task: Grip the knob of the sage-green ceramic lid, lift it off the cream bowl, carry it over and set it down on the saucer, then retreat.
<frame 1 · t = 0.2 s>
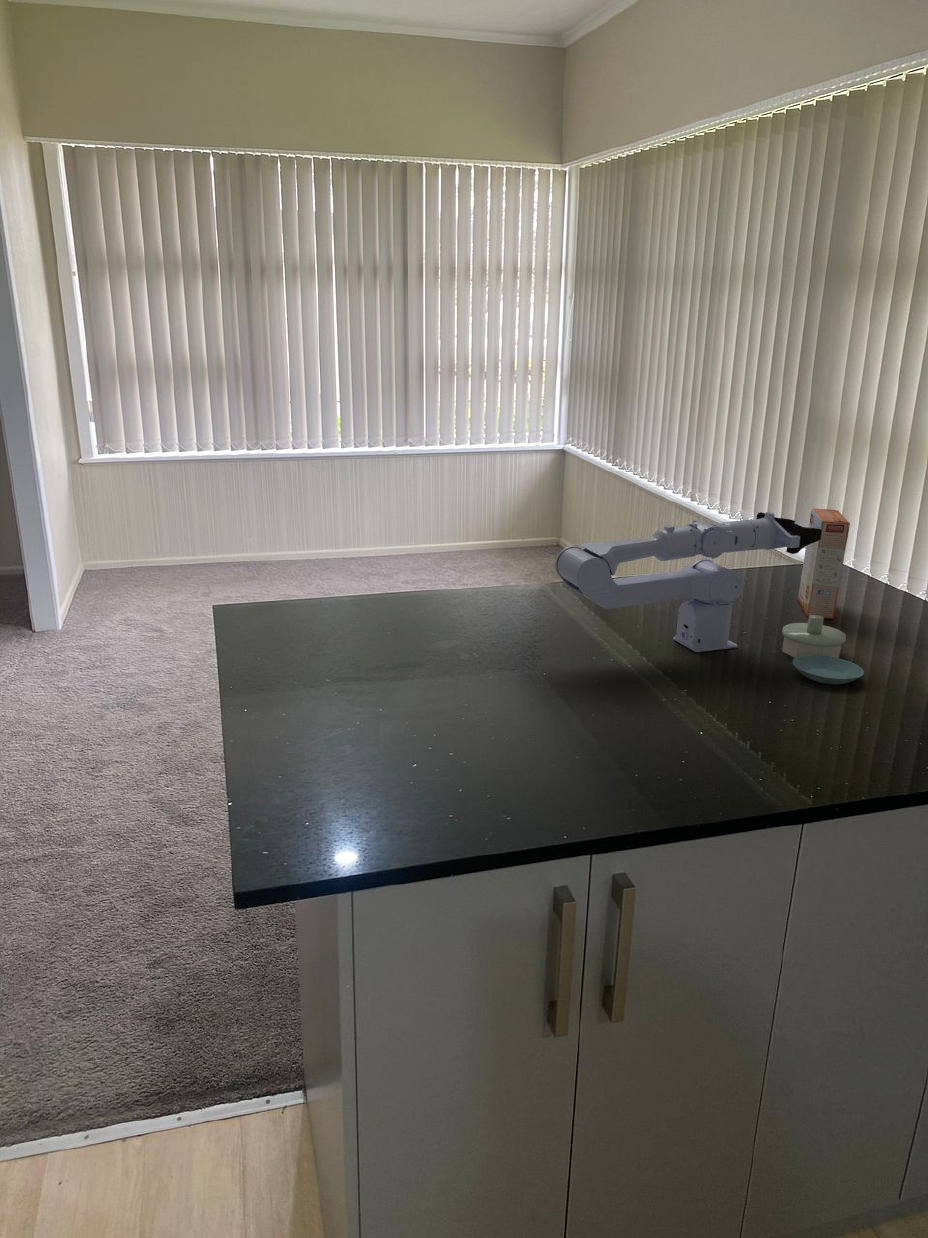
hand: (806, 529, 180), 21 cm above the worktop, tool horizontal, fingers open, 7 cm apart
cracker box: (815, 610, 204), on the worktop
bowl: (811, 652, 177), on the worktop
saucer: (825, 679, 166), on the worktop
lid: (813, 636, 176), point 3 cm above the worktop, touching bowl
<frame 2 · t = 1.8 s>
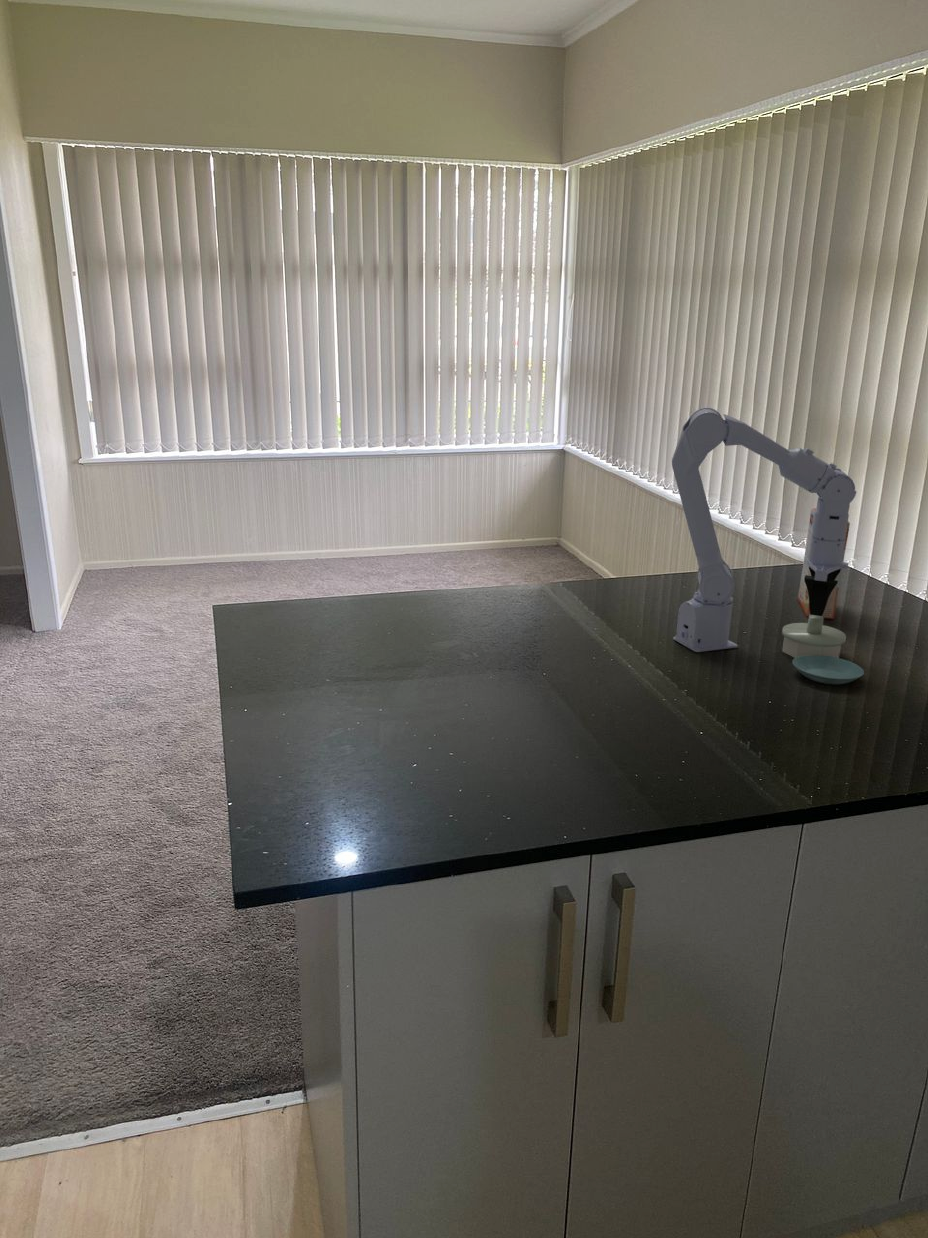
hand: (817, 609, 175), 9 cm above the worktop, tool pointing down, fingers open, 7 cm apart
nothing on the worktop moved.
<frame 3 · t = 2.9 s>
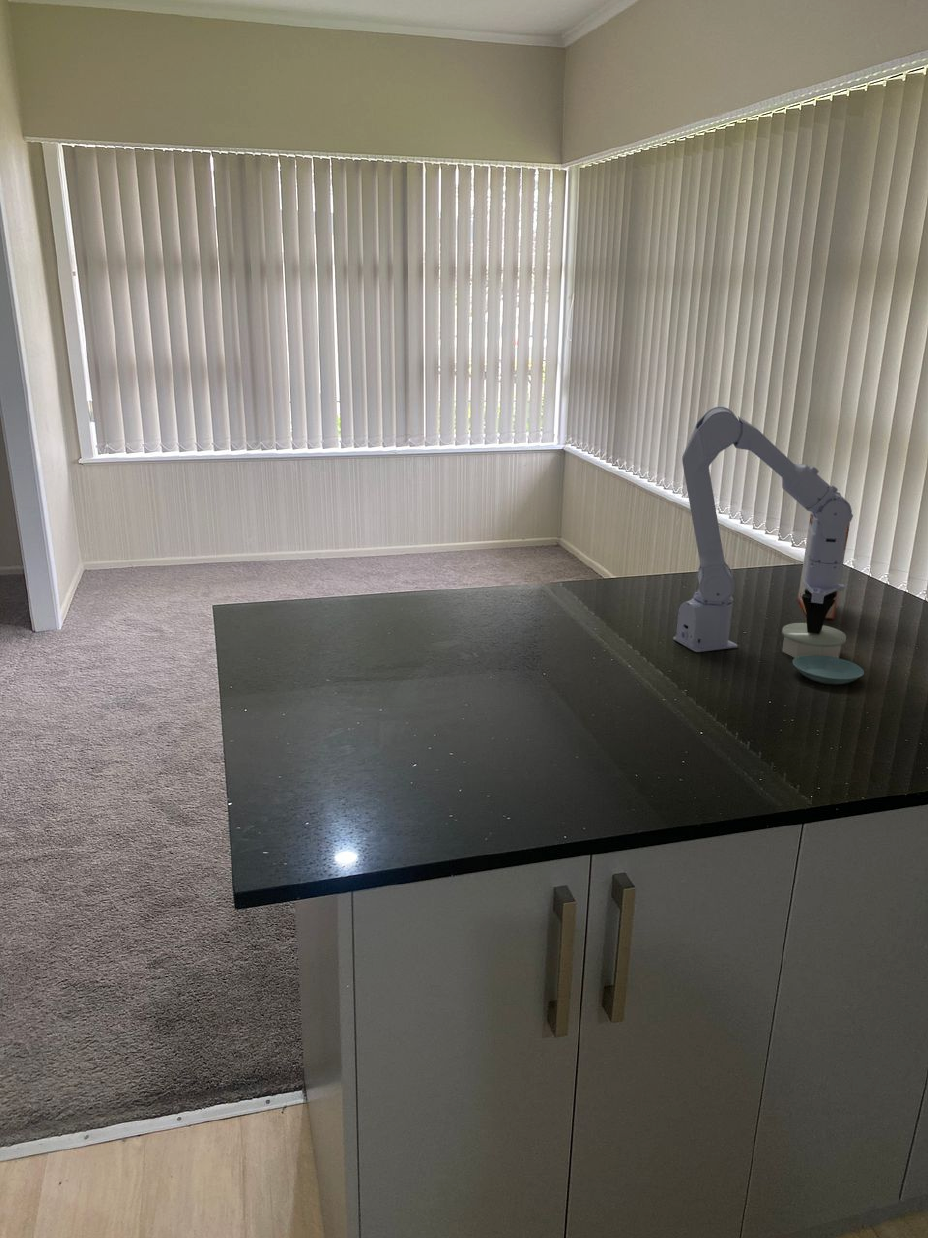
hand: (814, 630, 176), 4 cm above the worktop, tool pointing down, fingers closed on lid, 3 cm apart
lid: (813, 636, 176), point 3 cm above the worktop, touching bowl, gripper
everything else where it was.
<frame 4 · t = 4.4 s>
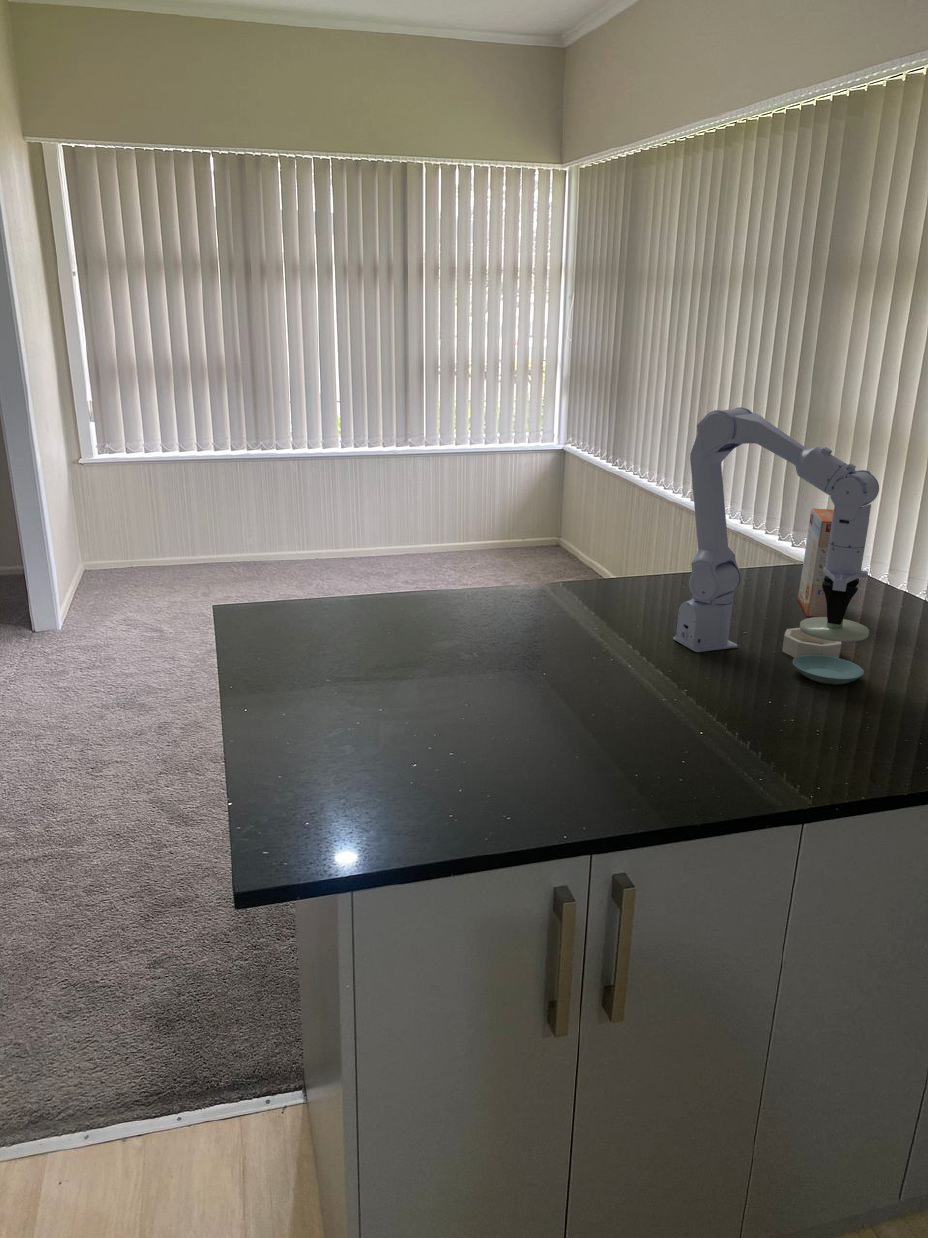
hand: (834, 620, 163), 10 cm above the worktop, tool pointing down, fingers closed on lid, 3 cm apart
lid: (833, 631, 163), point 8 cm above the worktop, touching gripper
everything else where it was.
when the fingers open (4 cm above the worktop, at t = 5.8 s): lid stays where it is, resting on saucer.
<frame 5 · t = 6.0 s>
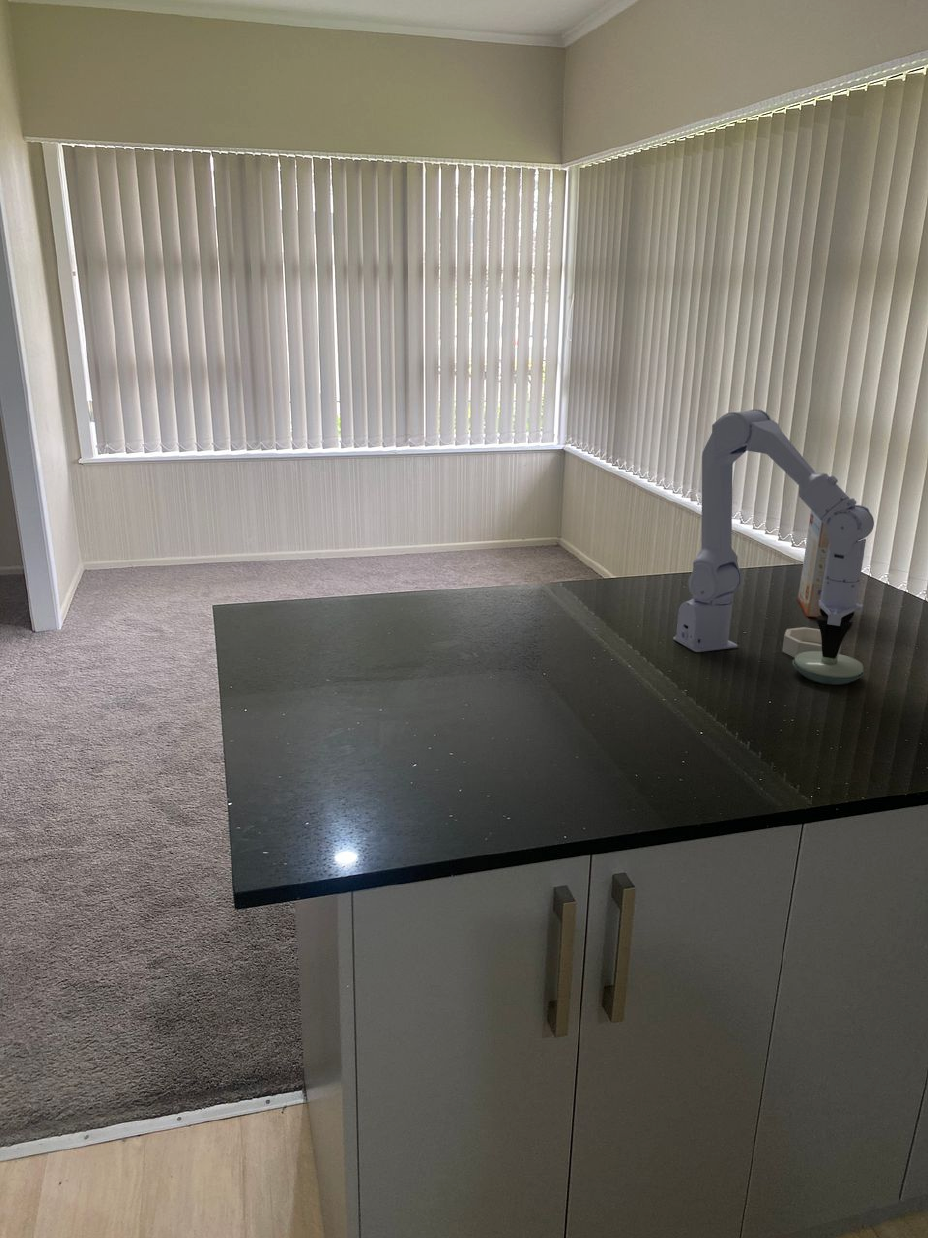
hand: (829, 653, 164), 4 cm above the worktop, tool pointing down, fingers open, 4 cm apart
saucer: (825, 679, 166), on the worktop, touching lid
lid: (828, 666, 165), point 2 cm above the worktop, touching saucer
everything else where it was.
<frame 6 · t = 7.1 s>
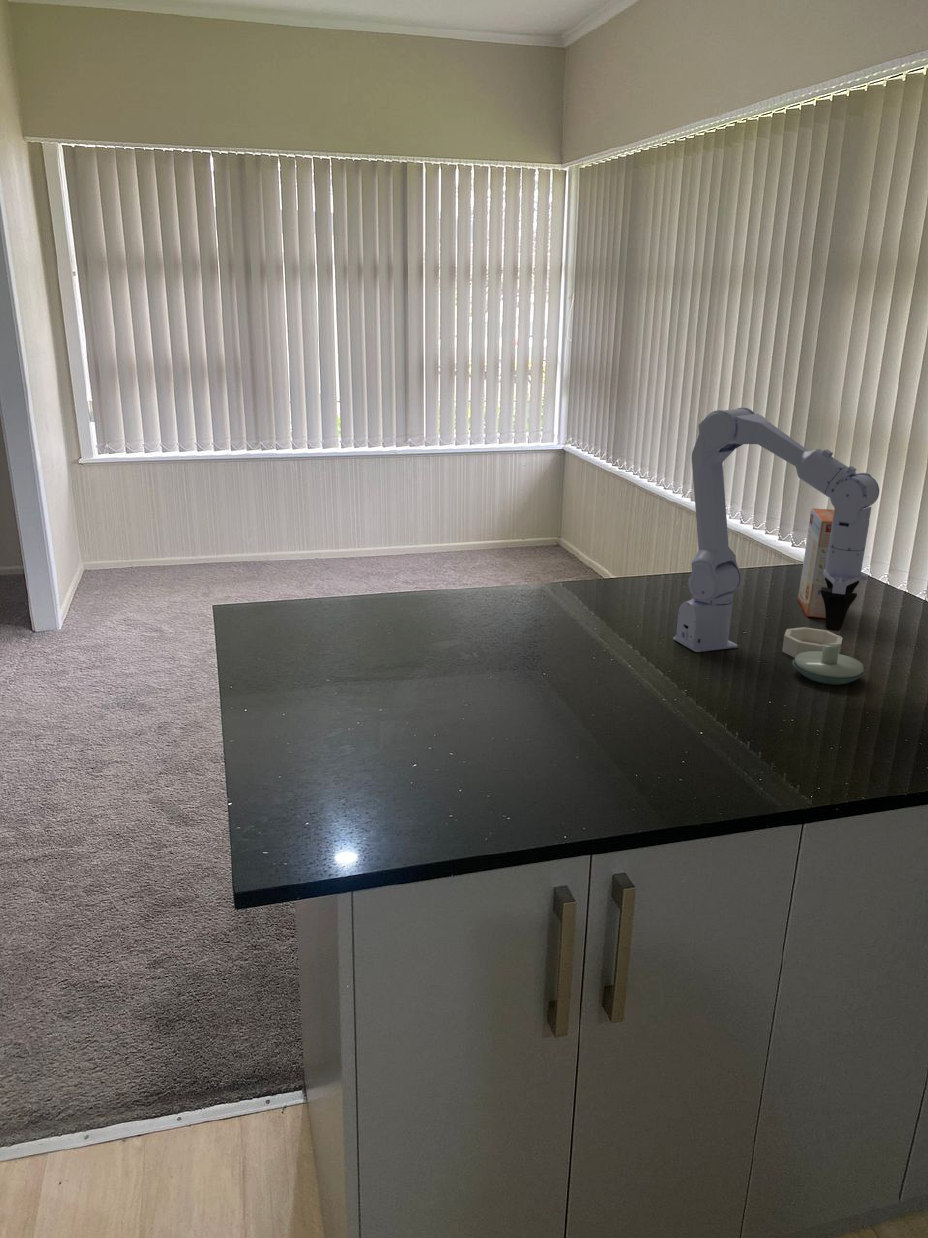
hand: (834, 623, 162), 10 cm above the worktop, tool pointing down, fingers open, 7 cm apart
nothing on the worktop moved.
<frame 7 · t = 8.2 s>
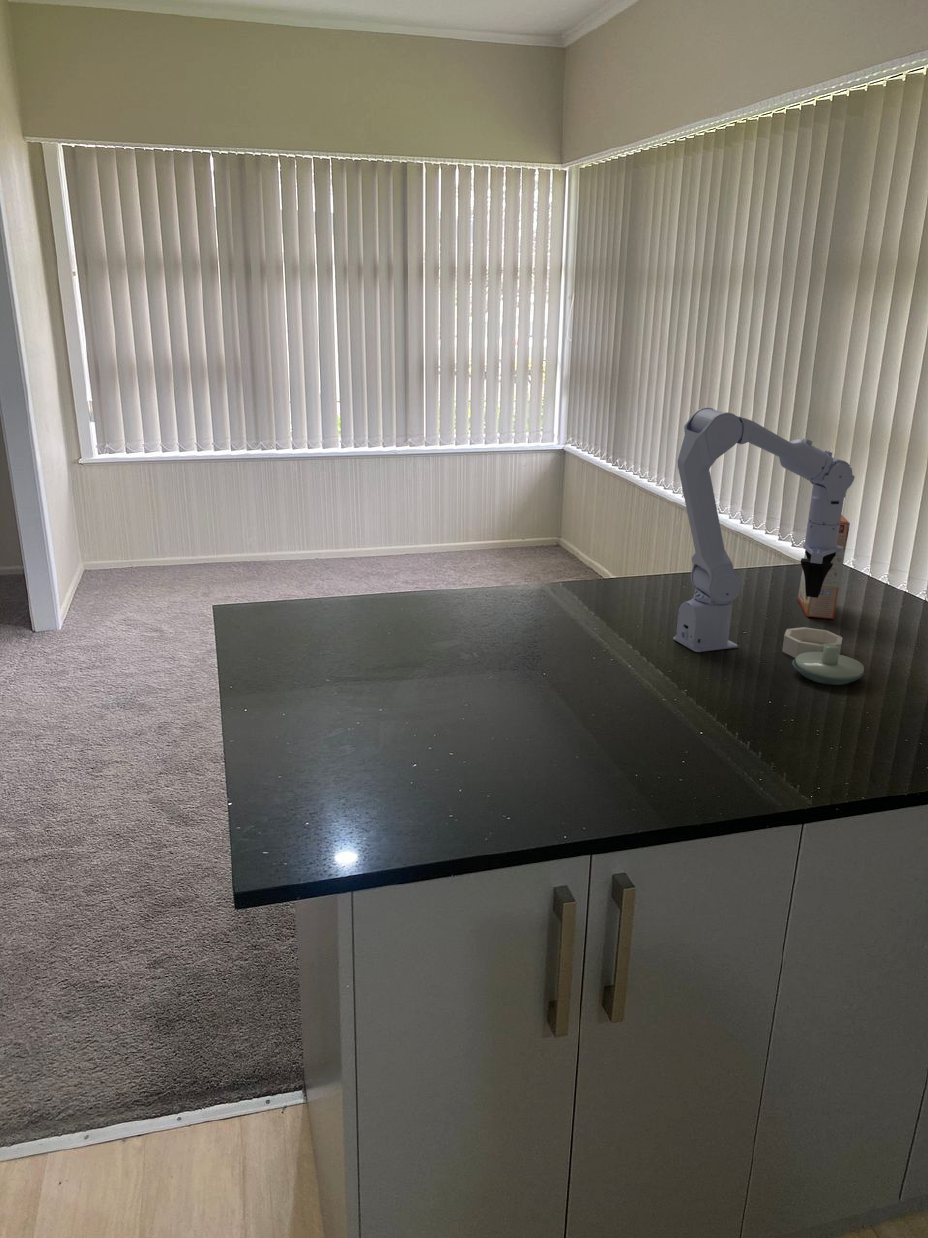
hand: (813, 591, 181), 10 cm above the worktop, tool pointing down, fingers open, 7 cm apart
nothing on the worktop moved.
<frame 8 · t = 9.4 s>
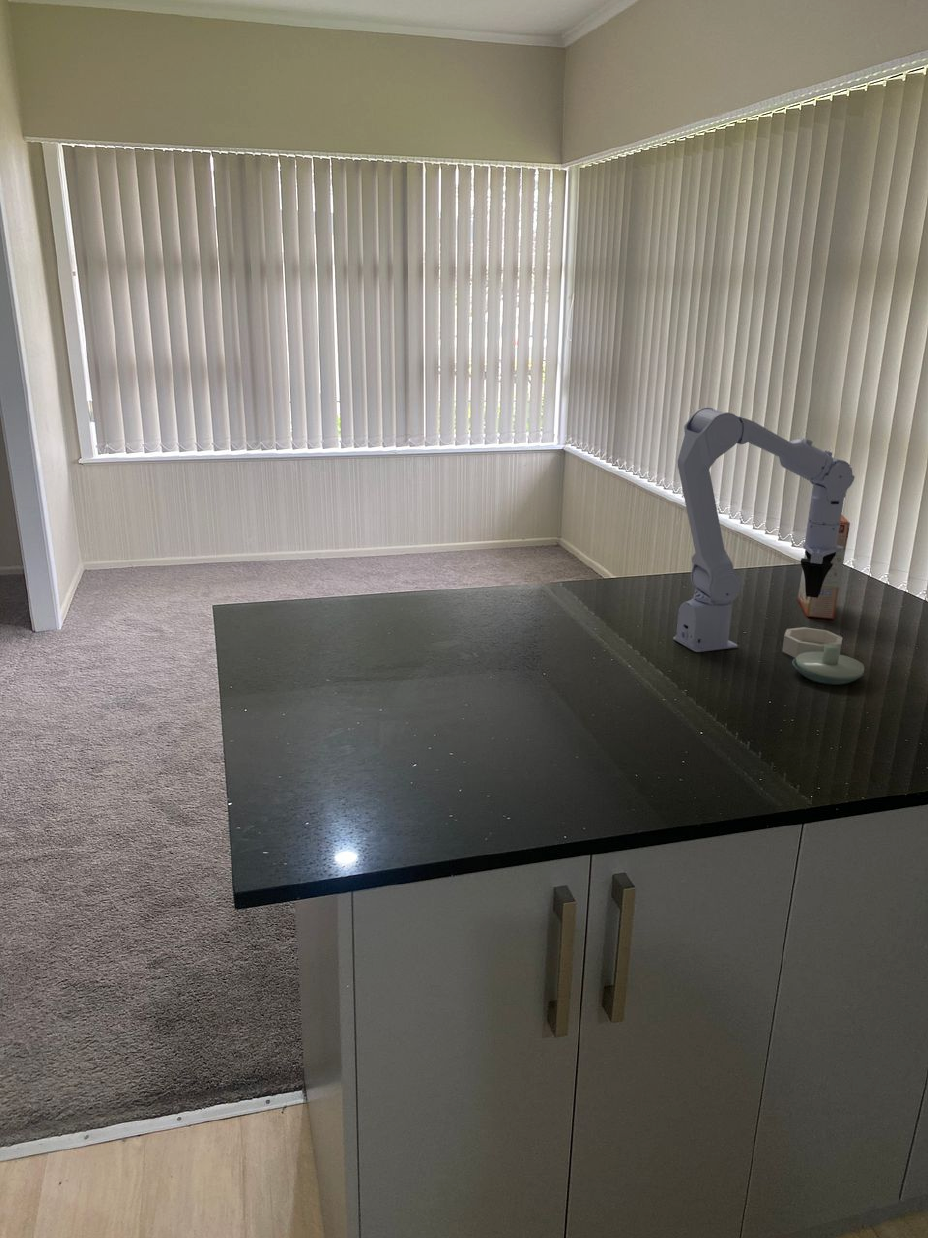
hand: (813, 591, 181), 10 cm above the worktop, tool pointing down, fingers open, 7 cm apart
nothing on the worktop moved.
at the end: lid 0.3 cm from the saucer (horizontally); lid point 2.0 cm above the worktop; lid touching saucer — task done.
